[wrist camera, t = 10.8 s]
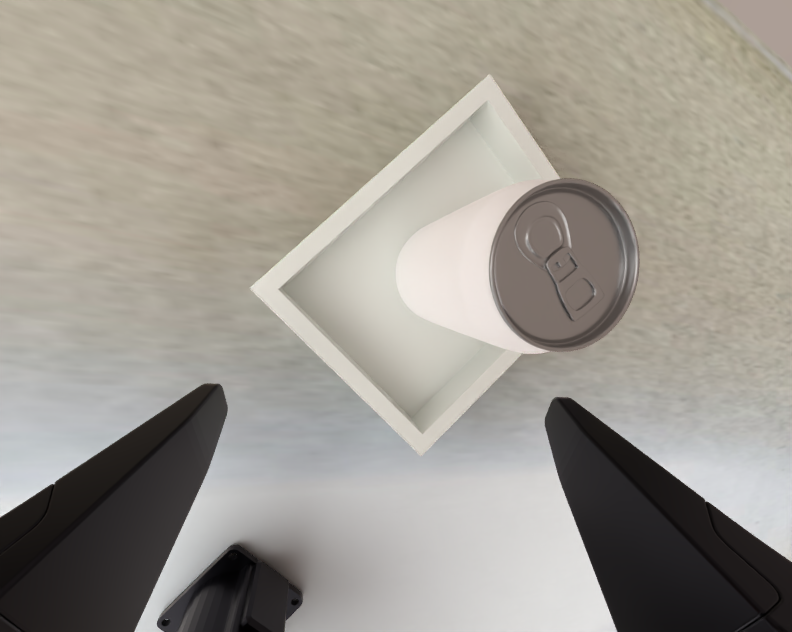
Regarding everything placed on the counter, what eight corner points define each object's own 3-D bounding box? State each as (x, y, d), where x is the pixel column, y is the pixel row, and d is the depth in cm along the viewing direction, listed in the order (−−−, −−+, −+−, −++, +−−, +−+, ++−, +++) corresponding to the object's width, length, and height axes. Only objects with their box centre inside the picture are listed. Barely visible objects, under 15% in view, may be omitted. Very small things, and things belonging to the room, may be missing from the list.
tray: (406, 431, 25) (421, 456, 21) (260, 286, 21) (249, 288, 18) (576, 262, 26) (615, 259, 23) (464, 103, 23) (489, 73, 20)
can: (450, 204, 22) (593, 122, 11) (502, 282, 24) (679, 285, 12) (373, 263, 22) (437, 245, 10) (431, 341, 23) (546, 404, 12)
